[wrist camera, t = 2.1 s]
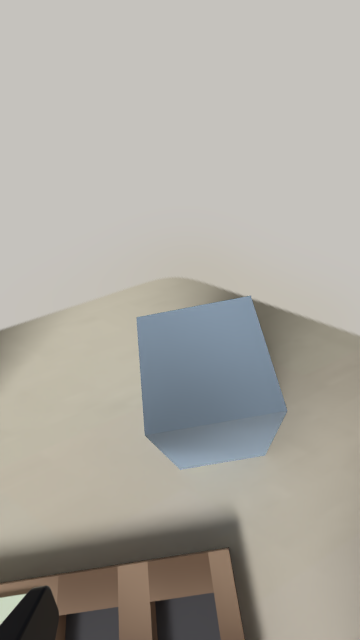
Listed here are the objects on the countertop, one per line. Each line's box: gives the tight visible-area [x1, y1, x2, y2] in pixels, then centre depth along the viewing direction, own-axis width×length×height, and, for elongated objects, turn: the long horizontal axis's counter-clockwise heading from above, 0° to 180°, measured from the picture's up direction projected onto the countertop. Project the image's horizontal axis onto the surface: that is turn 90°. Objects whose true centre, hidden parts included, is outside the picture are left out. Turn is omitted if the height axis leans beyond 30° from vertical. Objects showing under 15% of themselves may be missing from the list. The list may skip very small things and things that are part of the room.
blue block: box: [137, 296, 287, 470], centre depth 16 cm, size 5×5×9 cm
